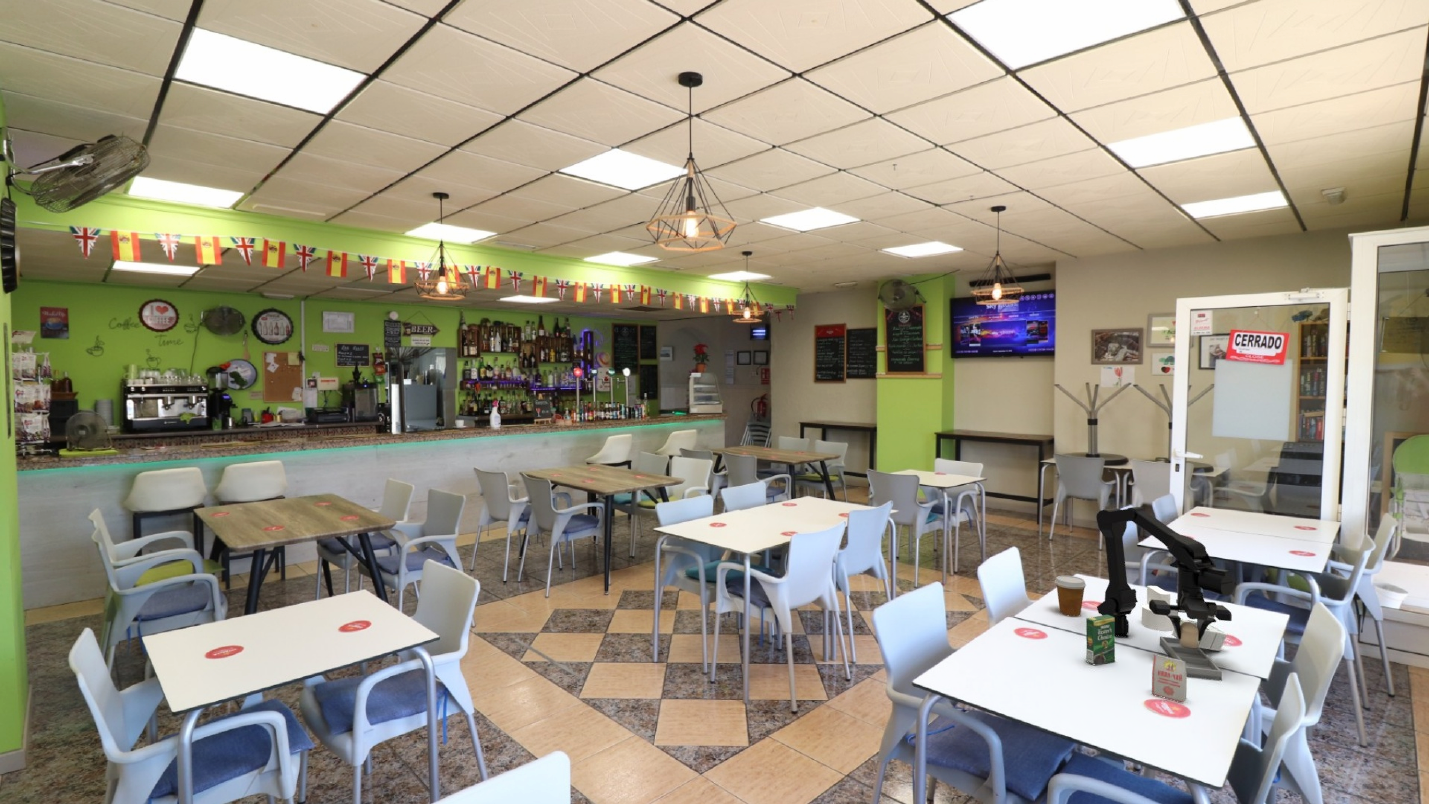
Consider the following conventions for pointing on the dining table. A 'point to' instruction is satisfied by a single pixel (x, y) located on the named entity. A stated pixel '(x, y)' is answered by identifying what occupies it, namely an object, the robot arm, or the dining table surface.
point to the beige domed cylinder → (1189, 635)
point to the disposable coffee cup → (1070, 594)
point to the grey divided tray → (1191, 659)
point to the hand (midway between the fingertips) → (1188, 639)
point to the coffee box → (1100, 639)
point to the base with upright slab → (1152, 619)
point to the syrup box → (1208, 637)
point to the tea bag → (1169, 678)
